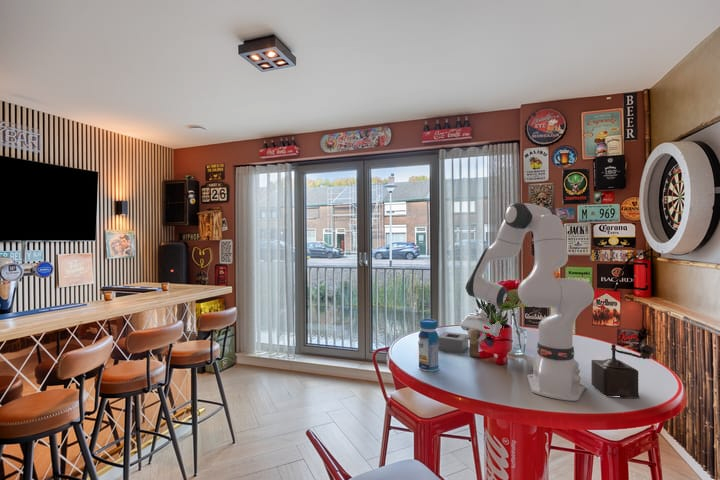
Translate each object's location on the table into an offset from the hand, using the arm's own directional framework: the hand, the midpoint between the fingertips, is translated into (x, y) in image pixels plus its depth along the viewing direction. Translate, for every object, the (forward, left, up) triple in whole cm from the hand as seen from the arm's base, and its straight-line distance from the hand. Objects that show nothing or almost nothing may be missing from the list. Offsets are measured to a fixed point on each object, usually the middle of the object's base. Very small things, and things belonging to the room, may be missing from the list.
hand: (473, 340), depth 161 cm
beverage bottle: (-24, +13, -8) cm, 29 cm away
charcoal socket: (+9, +12, -8) cm, 16 cm away
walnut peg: (+1, 0, -7) cm, 7 cm away
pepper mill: (-13, -54, -8) cm, 56 cm away
